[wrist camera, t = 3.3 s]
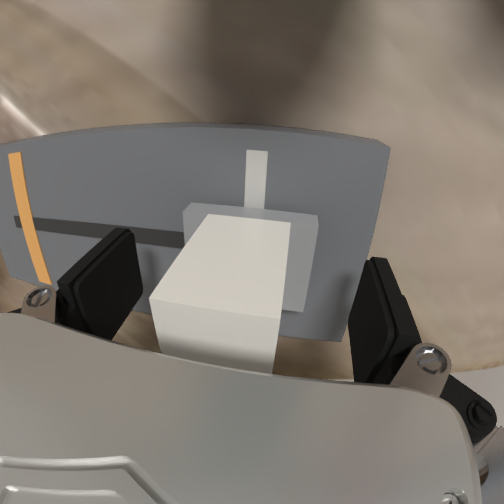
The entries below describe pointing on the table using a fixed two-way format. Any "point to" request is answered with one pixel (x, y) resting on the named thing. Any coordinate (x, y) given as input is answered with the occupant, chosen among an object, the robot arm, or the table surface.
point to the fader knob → (233, 284)
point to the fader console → (191, 200)
